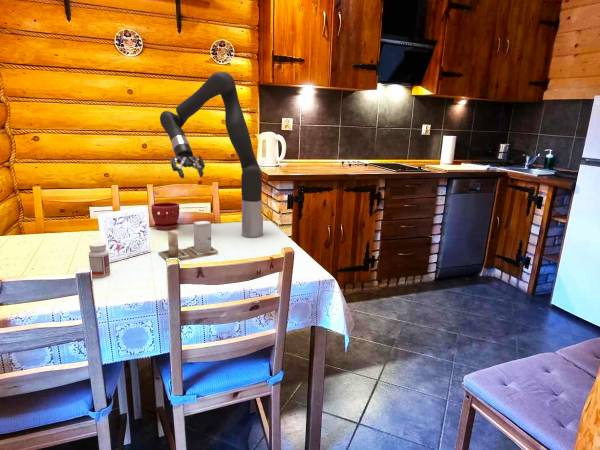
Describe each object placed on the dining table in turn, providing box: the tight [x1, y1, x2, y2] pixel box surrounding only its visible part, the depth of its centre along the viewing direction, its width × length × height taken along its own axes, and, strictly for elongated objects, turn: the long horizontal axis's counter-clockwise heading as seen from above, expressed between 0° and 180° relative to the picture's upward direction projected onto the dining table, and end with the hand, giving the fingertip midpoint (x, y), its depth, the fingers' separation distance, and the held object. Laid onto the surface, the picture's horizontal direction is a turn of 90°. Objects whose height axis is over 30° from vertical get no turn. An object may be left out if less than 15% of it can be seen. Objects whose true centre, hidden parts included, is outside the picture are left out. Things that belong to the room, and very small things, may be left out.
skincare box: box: [193, 220, 212, 253], centre depth 166 cm, size 6×4×12 cm
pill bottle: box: [88, 241, 111, 279], centre depth 141 cm, size 6×6×11 cm
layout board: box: [157, 245, 219, 262], centre depth 163 cm, size 21×13×2 cm, turn 127°
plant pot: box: [150, 201, 180, 231], centre depth 201 cm, size 13×13×12 cm
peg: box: [167, 229, 179, 258], centre depth 159 cm, size 4×4×10 cm
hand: (192, 176), depth 178 cm, fingers open, 8 cm apart
